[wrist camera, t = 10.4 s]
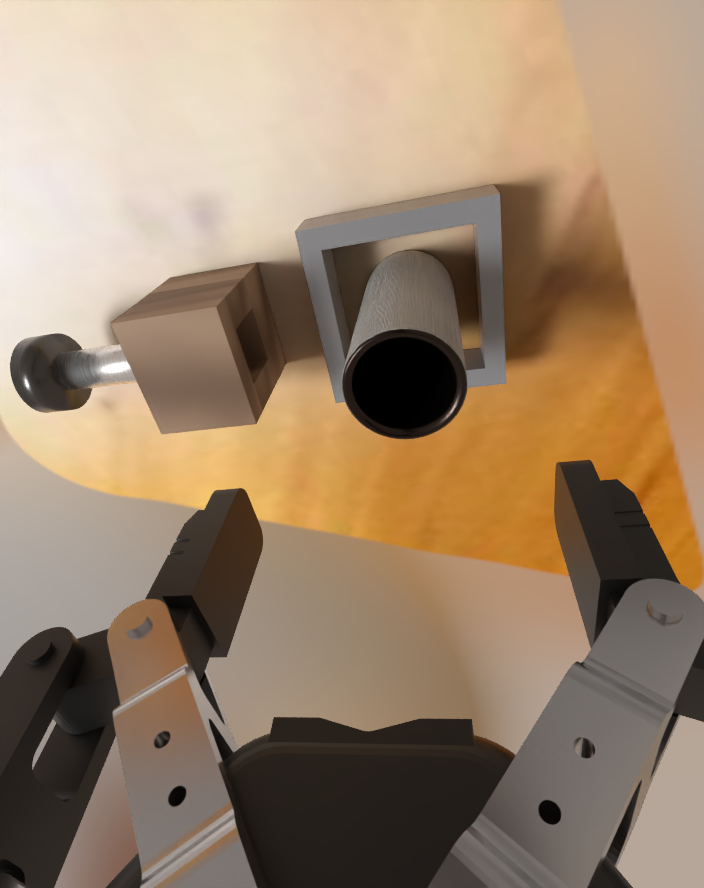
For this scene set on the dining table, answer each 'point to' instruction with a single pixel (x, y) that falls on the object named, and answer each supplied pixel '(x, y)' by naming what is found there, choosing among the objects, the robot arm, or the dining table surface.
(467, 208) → the grey open frame
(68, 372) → the shaft
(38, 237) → the dining table surface
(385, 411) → the grey cylinder
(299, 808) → the robot arm
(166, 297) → the guide block
